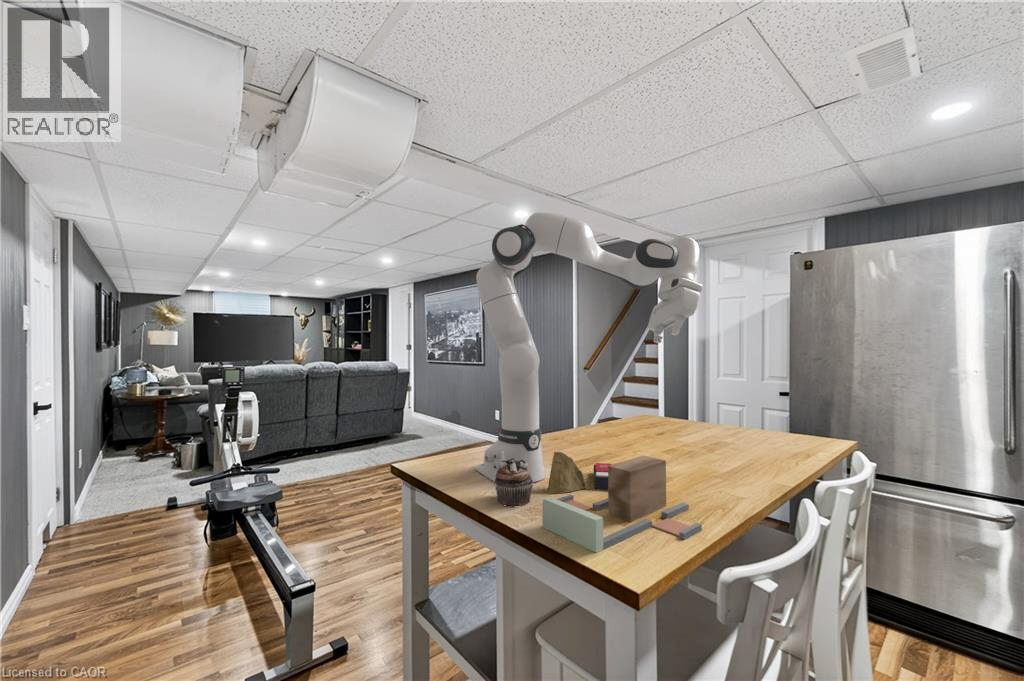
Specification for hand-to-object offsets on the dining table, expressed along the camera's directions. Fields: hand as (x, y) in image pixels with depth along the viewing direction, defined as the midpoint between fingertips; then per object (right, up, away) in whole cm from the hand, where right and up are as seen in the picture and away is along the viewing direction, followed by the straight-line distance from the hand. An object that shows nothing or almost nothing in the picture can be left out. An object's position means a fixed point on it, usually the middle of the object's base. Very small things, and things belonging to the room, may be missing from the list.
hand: (665, 338), depth 115 cm
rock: (-26, -40, -1) cm, 48 cm away
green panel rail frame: (-17, -40, -19) cm, 48 cm away
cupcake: (-41, -40, -9) cm, 58 cm away
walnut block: (-12, -40, -15) cm, 45 cm away
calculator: (-13, -41, +5) cm, 43 cm away
